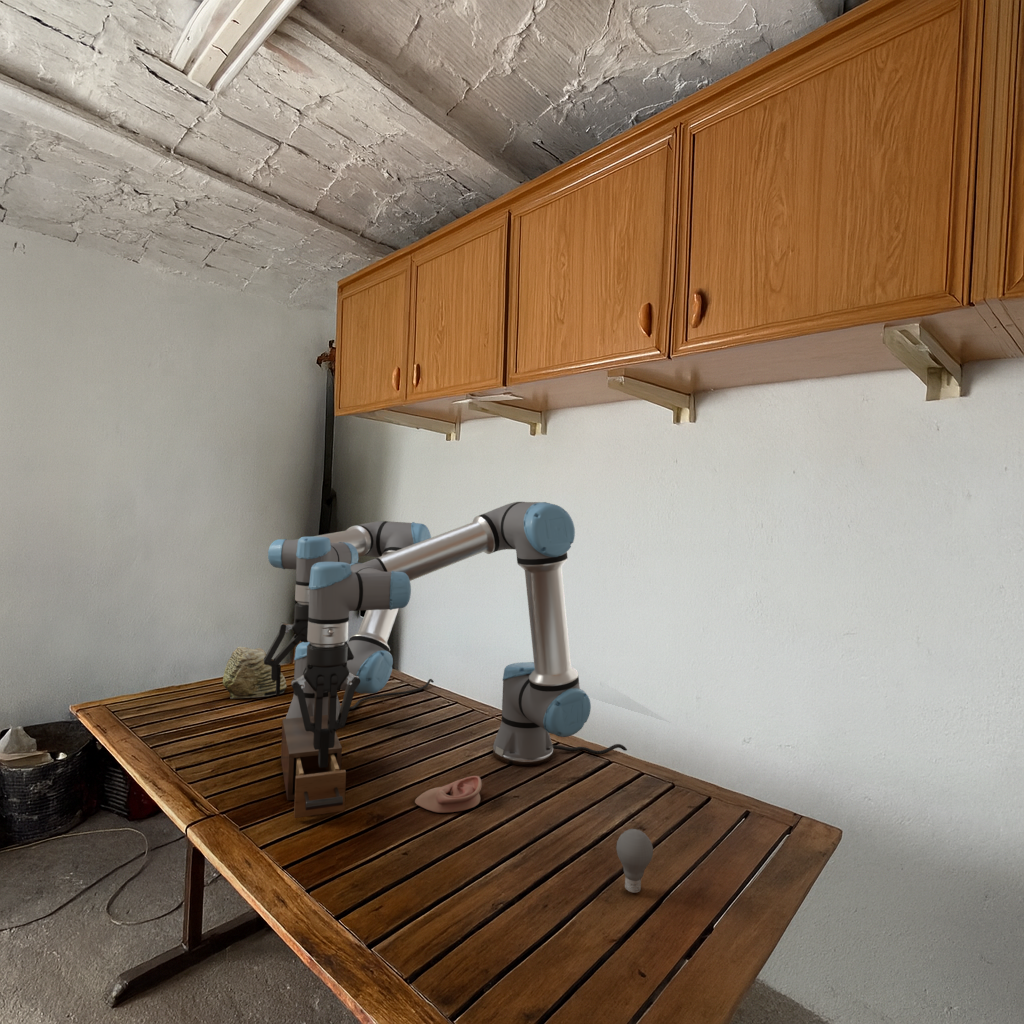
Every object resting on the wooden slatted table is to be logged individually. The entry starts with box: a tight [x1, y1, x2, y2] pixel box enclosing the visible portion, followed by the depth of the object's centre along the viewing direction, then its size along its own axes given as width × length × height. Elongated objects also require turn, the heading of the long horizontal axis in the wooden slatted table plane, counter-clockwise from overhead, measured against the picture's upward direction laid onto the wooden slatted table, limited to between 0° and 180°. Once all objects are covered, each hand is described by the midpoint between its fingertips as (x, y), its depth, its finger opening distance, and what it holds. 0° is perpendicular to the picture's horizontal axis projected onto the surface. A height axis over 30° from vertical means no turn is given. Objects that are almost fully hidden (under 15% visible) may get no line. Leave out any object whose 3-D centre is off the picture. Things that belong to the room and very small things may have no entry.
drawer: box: [293, 753, 347, 819], centre depth 131 cm, size 26×10×8 cm, turn 23°
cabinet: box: [280, 715, 343, 801], centre depth 143 cm, size 22×11×10 cm, turn 23°
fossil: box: [222, 646, 288, 699], centre depth 198 cm, size 9×18×15 cm, turn 132°
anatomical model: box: [414, 775, 483, 814], centre depth 134 cm, size 13×4×12 cm
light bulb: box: [615, 828, 654, 894], centre depth 106 cm, size 6×6×10 cm
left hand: (308, 691), depth 150 cm, fingers open, 13 cm apart
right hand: (323, 764), depth 122 cm, fingers closed
